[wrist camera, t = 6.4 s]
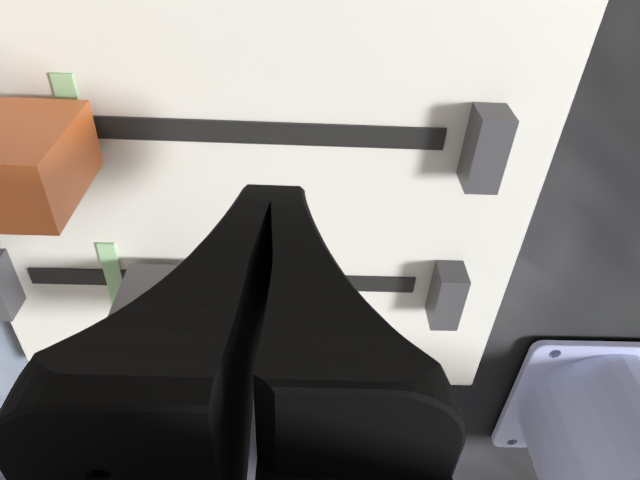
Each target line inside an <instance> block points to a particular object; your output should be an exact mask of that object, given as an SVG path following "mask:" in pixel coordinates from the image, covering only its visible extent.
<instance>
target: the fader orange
mask: <svg viewBox="0 0 640 480" xmlns="http://www.w3.org/2000/svg"><path fill="white" fill-rule="evenodd" d="M103 163H104V162H103V157H102V153H101V149H100V145H99V140H98V136H97V132H96V128H95V123H94V119H93V115H92V111H91V106H90V102H89V100H74V99H46V98H19V97H0V234H6V235H42V236H60V234H61V233H62V231H63V229H64V228H65V226H66V224H67V223H68V221H69V219H70V218H71V216H72V215H73V213H74V211H75V210H76V208H77V206H78V205H79V203H80V201H81V200H82V198H83V196H84V195H85V193H86V191H87V190H88V188H89V186H90V185H91V183H92V182H93V180H94V178H95V177H96V175H97V173H98V172H99V170H100V168H101V167H102V165H103Z"/></svg>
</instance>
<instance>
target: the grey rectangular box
mask: <svg viewBox="0 0 640 480" xmlns="http://www.w3.org/2000/svg"><path fill="white" fill-rule="evenodd" d="M177 266H178V265H166V264H129V265H128V268H127V270H126V272H125V275H124V277H123V280H122V282H121V285H120V287H119V289H118V292H117V294H116V297H115V299H114V302H113V304H112V306H111V309H110V311H109V314H108V316H109V315H111V314H113V313H114V312H116V311H118V310H119V309H121V308H123V307H124V306H126V305H127V304H129V303H130V302H132V301H133V300H135V299H136V298H137V297H139V296H140V295H142V294H143V293H144V292H146V291H147V290H149V289H150V288H151V287H153V286H154V285H155V284H157V283H158V282H159V281H161V280H162V279H163V278H164V277H165V276H167V275H168V274H169V273H170V272H171V271H172V270H174V269H175V268H176V267H177ZM108 316H107V317H108Z"/></svg>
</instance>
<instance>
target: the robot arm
mask: <svg viewBox="0 0 640 480" xmlns="http://www.w3.org/2000/svg"><path fill="white" fill-rule="evenodd" d="M253 398H254V405H255V424H256V444H257V466H256V477H255V480H453V479H452V476H453V473H454V470H455V468H456V465H457V462H458V460H459V457H460V454H461V452H462V449H463V446H464V443H465V436H466V429H465V425H464V420H463V416H462V413H461V409H460V407H459V404H458V401H457V399H456V396H455V394H454V392H453V389H452V387H451V384H450V382H449V380H448V378H447V376H446V374H445V372H444V370H443V368H442V366H441V364H440V363H439V362H438V361H436V360H435V359H433V358H432V357H431V356H429V355H428V354H427V353H425V352H424V351H422V350H421V349H420V348H418V347H417V346H415V345H414V344H413V343H411V342H410V341H409V340H407V339H406V338H405V337H403V336H402V335H401V334H400V333H399V332H398V331H396V330H395V329H394V328H393V327H392V326H391V325H390V324H389V323H388V322H387V321H386V320H385V319H384V318H383V317H382V316H381V315H380V314H379V313H378V312H377V311H376V310H375V309H374V308H373V307H372V306H371V305H370V304H369V303H368V302H367V301H366V300H365V299H364V298H363V296H362V295H361V294H360V293H359V292H358V291H357V289H356V288H355V287H354V286H353V284H352V283H351V282H350V281H349V279H348V278H347V277H346V275H345V274H344V272H343V271H342V270H341V268H340V267H339V265H338V264H337V262H336V261H335V259H334V257H333V256H332V254H331V253H330V251H329V249H328V247H327V246H326V244H325V242H324V240H323V238H322V236H321V234H320V232H319V230H318V228H317V226H316V224H315V222H314V220H313V218H312V215H311V212H310V210H309V207H308V204H307V201H306V196H305V190H304V189H303V188H302V187H301V186H285V185H256V184H247V185H246V186H245V187H244V188H243V189H242V190H241V192H240V194H239V195H238V197H237V198H236V200H235V201H234V203H233V204H232V205H231V207H230V208H229V209H228V211H227V212H226V213H225V215H224V216H223V217H222V219H221V220H220V221H219V222H218V223H217V225H216V226H215V227H214V228H213V230H212V231H211V232H210V233H209V234H208V235H207V237H206V238H205V239H204V240H203V241H202V242H201V243H200V244H199V245H198V246H197V247H196V248H195V249H194V250H193V251H192V252H191V254H190V255H189V256H188V257H187V258H185V259H184V260H183V261H182V262H181V263H180V264H179V265H178V266H177V267H176V268H175V269H174V270H172V271H171V272H170V273H169V274H168V275H167V276H165V277H164V278H163V279H162V280H161V281H159V282H158V283H157V284H155V285H154V286H153V287H151V288H150V289H149V290H147V291H146V292H144V293H143V294H142V295H140V296H139V297H137V298H136V299H135V300H133V301H132V302H130V303H129V304H127V305H126V306H124V307H123V308H121V309H119V310H118V311H116V312H114V313H113V314H111V315H109V316H108V317H106V318H104V319H102V320H101V321H99V322H97V323H95V324H94V325H92V326H90V327H88V328H86V329H84V330H82V331H80V332H78V333H76V334H74V335H72V336H70V337H68V338H66V339H64V340H62V341H60V342H57V343H55V344H53V345H51V346H49V347H47V348H45V349H43V350H40V351H38V352H36V353H34V355H33V356H32V358H31V359H30V361H29V362H28V364H27V365H26V367H25V368H24V369H23V371H22V372H21V374H20V375H19V377H18V378H17V380H16V382H15V383H14V385H13V387H12V388H11V390H10V392H9V394H8V396H7V398H6V400H5V401H4V403H3V405H2V407H1V409H0V470H1V472H2V473H3V475H4V477H5V478H6V480H247V470H248V457H249V445H250V433H251V421H252V409H253ZM491 439H492V442H493V444H494V445H495V446H498V447H527V448H528V451H529V454H530V457H531V460H532V463H533V466H534V469H535V472H536V475H537V477H538V480H640V342H620V341H572V340H539V341H536V342H535V343H533V344H532V345H531V346H530V348H529V350H528V353H527V355H526V357H525V360H524V362H523V364H522V367H521V369H520V371H519V373H518V376H517V378H516V380H515V383H514V385H513V387H512V390H511V392H510V394H509V397H508V399H507V401H506V403H505V406H504V408H503V410H502V413H501V415H500V417H499V420H498V422H497V424H496V427H495V429H494V431H493V433H492V436H491Z"/></svg>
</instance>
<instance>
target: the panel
mask: <svg viewBox="0 0 640 480" xmlns="http://www.w3.org/2000/svg"><path fill="white" fill-rule="evenodd" d="M607 3H608V0H0V97H19V98H46V99H74V100H89V102H90V106H91V111H92V115H93V119H94V123H95V128H96V132H97V136H98V140H99V145H100V149H101V153H102V157H103V162H104V163H103V165H102V167H101V168H100V170H99V172H98V173H97V175H96V177H95V178H94V180H93V182H92V183H91V185H90V186H89V188H88V190H87V191H86V193H85V195H84V196H83V198H82V200H81V201H80V203H79V205H78V206H77V208H76V210H75V211H74V213H73V215H72V216H71V218H70V219H69V221H68V223H67V224H66V226H65V228H64V229H63V231H62V233H61V234H60V236H42V235H6V234H0V321H8V322H11V324H12V326H13V329H14V331H15V333H16V335H17V337H18V340H19V342H20V344H21V346H22V349H23V351H24V353H25V355H26V357H27V360H28V362H29V361H30V359H31V358H32V356H33V355H34V353H36V352H38V351H40V350H43V349H45V348H47V347H49V346H51V345H53V344H55V343H57V342H60V341H62V340H64V339H66V338H68V337H70V336H72V335H74V334H76V333H78V332H80V331H82V330H84V329H86V328H88V327H90V326H92V325H94V324H95V323H97V322H99V321H101V320H102V319H104V318H106V317H107V316H108V314H109V311H110V309H111V306H112V304H113V302H114V299H115V297H116V294H117V292H118V289H119V287H120V285H121V282H122V280H123V277H124V275H125V272H126V270H127V268H128V265H129V264H166V265H179V264H180V263H181V262H182V261H183V260H184V259H185V258H187V257H188V256H189V255H190V254H191V252H192V251H193V250H194V249H195V248H196V247H197V246H198V245H199V244H200V243H201V242H202V241H203V240H204V239H205V238H206V237H207V235H208V234H209V233H210V232H211V231H212V230H213V228H214V227H215V226H216V225H217V223H218V222H219V221H220V220H221V219H222V217H223V216H224V215H225V213H226V212H227V211H228V209H229V208H230V207H231V205H232V204H233V203H234V201H235V200H236V198H237V197H238V195H239V194H240V192H241V190H242V189H243V188H244V187H245V186H246V185H247V184H256V185H285V186H301V187H302V188H303V189H304V190H305V196H306V201H307V204H308V207H309V210H310V212H311V215H312V218H313V220H314V222H315V224H316V226H317V228H318V230H319V232H320V234H321V236H322V238H323V240H324V242H325V244H326V246H327V247H328V249H329V251H330V253H331V254H332V256H333V257H334V259H335V261H336V262H337V264H338V265H339V267H340V268H341V270H342V271H343V272H344V274H345V275H346V277H347V278H348V279H349V281H350V282H351V283H352V284H353V286H354V287H355V288H356V289H357V291H358V292H359V293H360V294H361V295H362V296H363V298H364V299H365V300H366V301H367V302H368V303H369V304H370V305H371V306H372V307H373V308H374V309H375V310H376V311H377V312H378V313H379V314H380V315H381V316H382V317H383V318H384V319H385V320H386V321H387V322H388V323H389V324H390V325H391V326H392V327H393V328H394V329H395V330H396V331H398V332H399V333H400V334H401V335H402V336H403V337H405V338H406V339H407V340H409V341H410V342H411V343H413V344H414V345H415V346H417V347H418V348H420V349H421V350H422V351H424V352H425V353H427V354H428V355H429V356H431V357H432V358H433V359H435V360H436V361H438V362H439V363H440V364H441V366H442V368H443V370H444V372H445V374H446V376H447V378H448V380H449V382H450V384H451V385H472V383H473V380H474V377H475V374H476V371H477V369H478V366H479V363H480V360H481V357H482V354H483V352H484V349H485V346H486V343H487V340H488V338H489V335H490V332H491V329H492V326H493V324H494V321H495V318H496V315H497V312H498V309H499V307H500V304H501V301H502V298H503V295H504V293H505V290H506V287H507V284H508V281H509V278H510V276H511V273H512V270H513V267H514V264H515V262H516V259H517V256H518V253H519V250H520V248H521V245H522V242H523V239H524V236H525V233H526V231H527V228H528V225H529V222H530V219H531V217H532V214H533V211H534V208H535V205H536V202H537V200H538V197H539V194H540V191H541V188H542V186H543V183H544V180H545V177H546V174H547V172H548V169H549V166H550V163H551V160H552V157H553V155H554V152H555V149H556V146H557V143H558V141H559V138H560V135H561V132H562V129H563V127H564V124H565V121H566V118H567V115H568V112H569V110H570V107H571V104H572V101H573V98H574V96H575V93H576V90H577V87H578V84H579V81H580V79H581V76H582V73H583V70H584V67H585V65H586V62H587V59H588V56H589V53H590V51H591V48H592V45H593V42H594V39H595V36H596V34H597V31H598V28H599V25H600V22H601V20H602V17H603V14H604V11H605V8H606V5H607Z"/></svg>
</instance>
